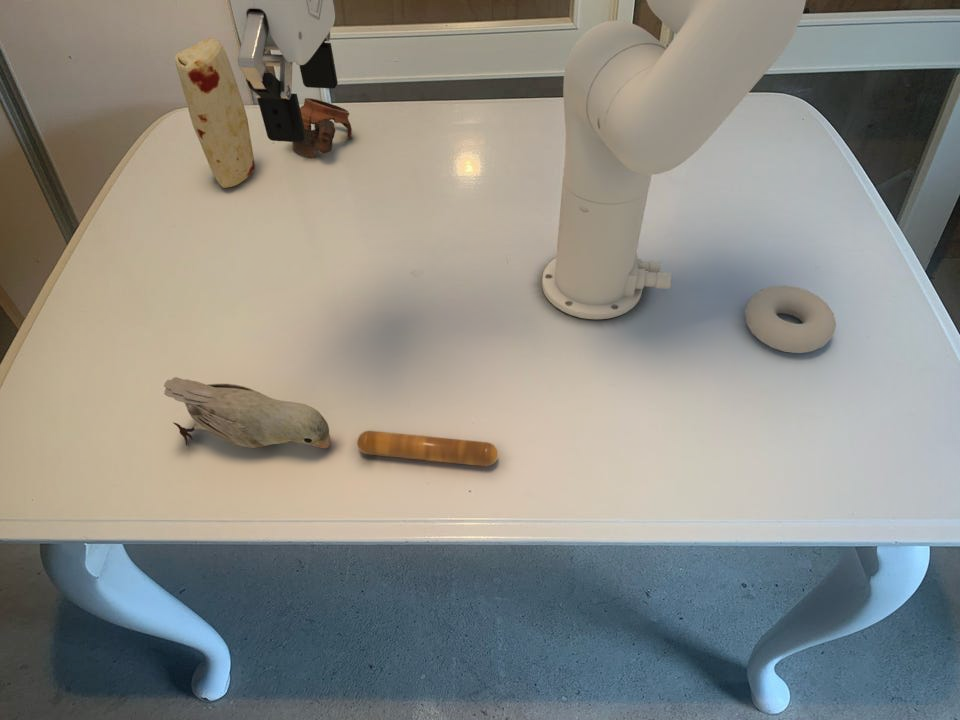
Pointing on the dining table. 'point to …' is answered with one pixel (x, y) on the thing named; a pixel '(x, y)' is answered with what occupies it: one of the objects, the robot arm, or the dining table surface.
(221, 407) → the decorative bird
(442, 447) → the polished stone stick
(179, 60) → the food model
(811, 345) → the donut
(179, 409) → the dining table surface
